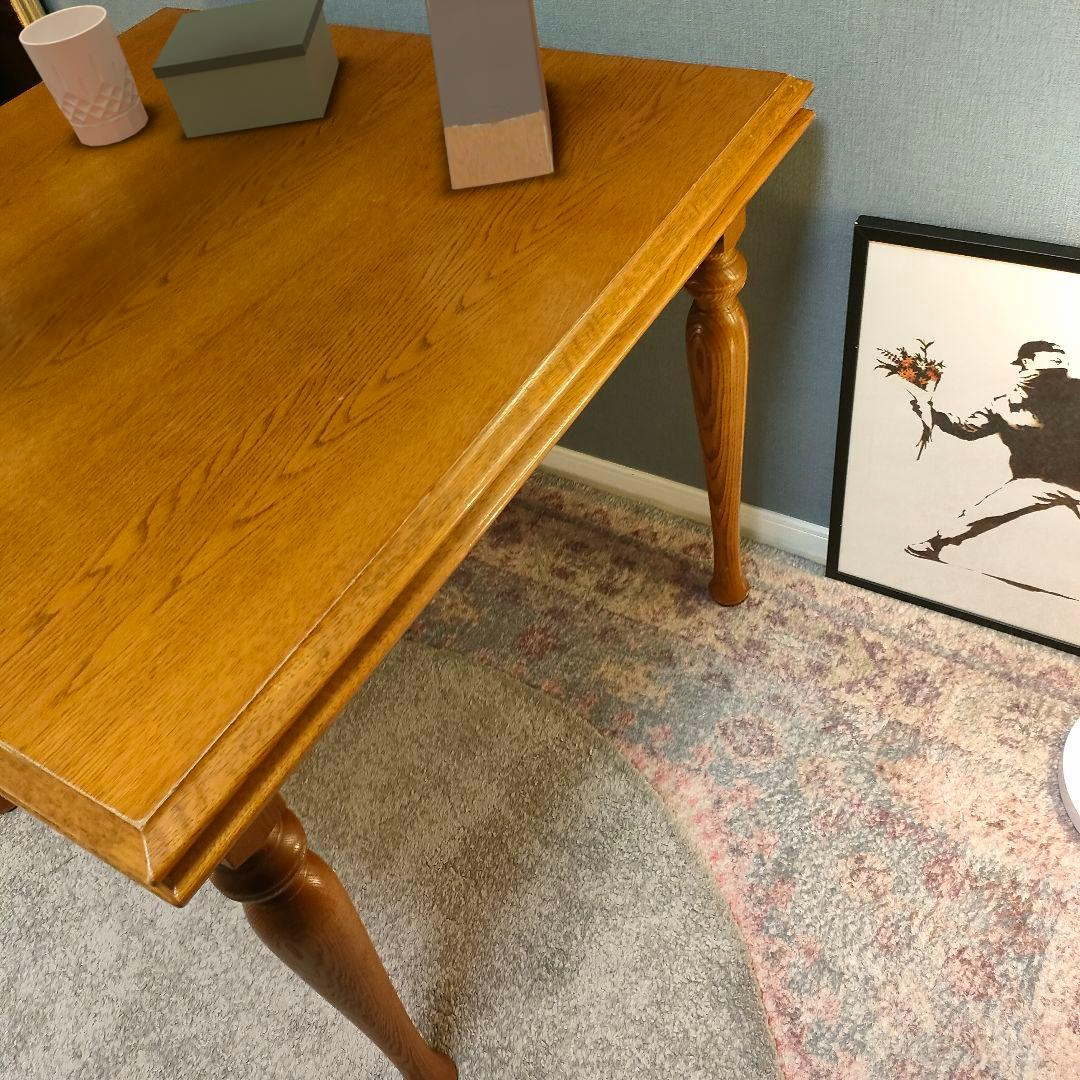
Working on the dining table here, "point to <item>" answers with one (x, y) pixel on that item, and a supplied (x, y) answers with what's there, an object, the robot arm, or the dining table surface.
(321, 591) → the dining table surface
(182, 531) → the dining table surface
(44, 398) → the dining table surface
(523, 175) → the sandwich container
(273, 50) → the storage box
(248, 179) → the dining table surface
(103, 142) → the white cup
